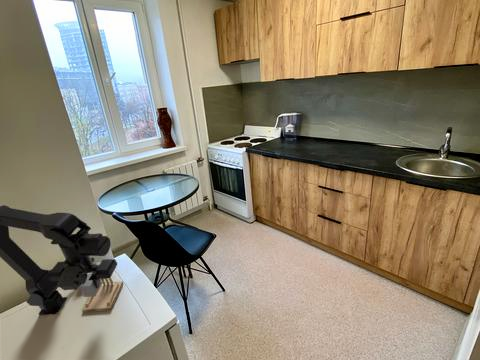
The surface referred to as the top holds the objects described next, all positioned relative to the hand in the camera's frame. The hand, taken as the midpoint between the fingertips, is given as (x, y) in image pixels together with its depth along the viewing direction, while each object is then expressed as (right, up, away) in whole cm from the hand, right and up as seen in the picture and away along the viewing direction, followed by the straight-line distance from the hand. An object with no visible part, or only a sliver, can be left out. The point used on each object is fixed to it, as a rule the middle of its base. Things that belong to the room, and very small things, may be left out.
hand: (92, 287), depth 83 cm
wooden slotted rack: (-1, -8, +9) cm, 11 cm away
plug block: (0, -1, +1) cm, 1 cm away
